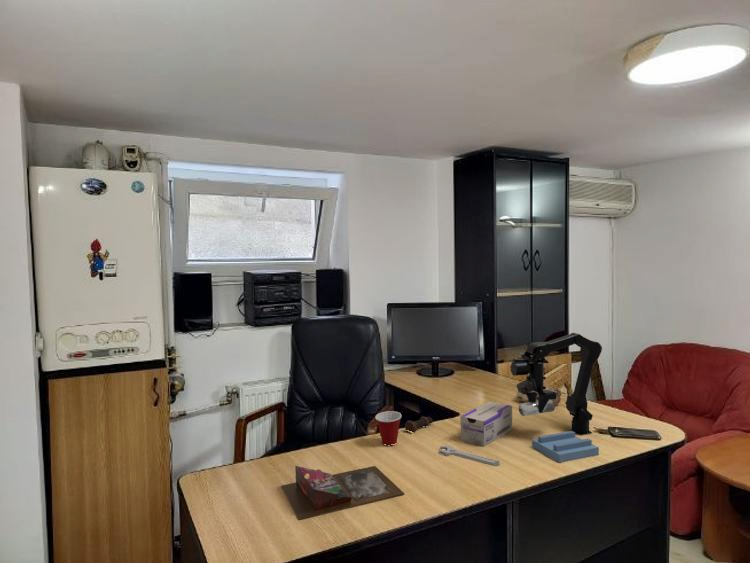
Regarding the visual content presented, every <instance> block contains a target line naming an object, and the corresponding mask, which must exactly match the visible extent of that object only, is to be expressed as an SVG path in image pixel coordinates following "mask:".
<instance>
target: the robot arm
mask: <svg viewBox="0 0 750 563" xmlns="http://www.w3.org/2000/svg"><path fill="white" fill-rule="evenodd" d="M574 345H575V346H577V347H579V348H580V350H579V354H580V358H581V361H580V365H579V369H578V374H577V378H576V382H575V386H574V390H573V393H571V395H570V394H567V395H566V396H567V397H566V400H565V402H564V403H565V408H566V410H567V411H568V413H569V415H570V416H572V418H571V428H569V431H573V432H575V434H577V435H579V436H583V435H588V434H592V433H593V431H591V430H590V421H592V419H593V414H592V413H591V412H590V411H589V410H588V400H587V392H588V389H589V385H590V380H591V376H592V371H593V367H594V364H595V363H596V361H597V360H598V359H599V358H600V356H601V353H602V351H603V346H602V345H601V343H599V342H598V341H595V340H591V339H589V338H587V337H585V336H583V335H582V334H579V333H576V332H571V333H569V334H567V335H564V336H561V337H558V338H555V339H554V338H553V339H552V340H548V341H537V342H530V343H529V344H528V345H527V348H526V350H525V351H524V353H523V355H522V356H521V358H512V361H511V363H510V366H509V367H510V372H511V375H512V376H514V377H517V376H526V378H525V380H523V381H520V382H519V383H517V384H516V389H517V391H518V392H519V393H522V394H525V395H526V396H527V398H528V401H529V402H535V401H536V399H537V400H538V406H539V414H543V413H542V412H543V410H544V408H545V406H546V404H547V402H548V401H549V400H551V399H557V394H556V393H555V392H554V391H551V390H544V391H543V389H546V387H545V386H546V385H545V384H544V380H546V379H547V378H546V376H544V364H549V361H548V360H547V359H546V357H548V356H549V355H550V354H551V353H552V352H554V351H558V350H561V349H564V348H566V347H567V348H568V347H570V346H574ZM544 385H545V386H544ZM537 393H538V396H539V397H537Z"/></svg>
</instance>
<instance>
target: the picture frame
mask: <svg viewBox="0 0 750 563" xmlns="http://www.w3.org/2000/svg"><path fill="white" fill-rule="evenodd" d="M294 468H295V476H294V477H295V482H292V483H287V484H283V485H280V488H281V490H282V491H283V493H284V496H285V497H286V498H287V500H288V503H289V505H290V507H291V508H292V511H293V512H294V514H295V517H296V518H297V520H298V521H303V520H307V519H311V518H315V517H319V516H320V517H321V516H323V515H328V514H332V513H336V512H340V511H345V510H348V509H353V508H356V507H361V506H364V505H368V504H373V503H376V502H381V501H385V500H389V499H394V498H397V497H402V496H404V495H405V493H404V491H402V490H401V488H400V487H398V485H396V484H395V483H394V482H393V481H392V480H391V479H390V478H389V477H387V475H386V474H384V472H382V470H380V468H378V467H377V466H376V465H373V466H368V467H367V466H366V467H363V468H359V469H357V468H356V469H353V470H348V471H343V472H338V473H334V474H332V473H329V472H326V471H325V472H324V471H322V470H321V469H313V468H312V469H311V468H308V467H302V466H298V465H295V466H294ZM307 474H308V478H306V477H305V476H306V475H307Z"/></svg>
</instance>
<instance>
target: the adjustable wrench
mask: <svg viewBox="0 0 750 563" xmlns="http://www.w3.org/2000/svg"><path fill="white" fill-rule="evenodd" d="M442 449H445V450H442ZM440 453H441V455H442V454H443V455H442V456H446V457H448V456H449V455H454V456H455V457H460V458H463V459H468V460H472V461H475V462H479V463H483V464H487V465H490V466H493V467H499V466H501V462H500V460H497V459H493V458H489V457H484V456H480V455H478V454H473V453H469V452H464V451H461V450H458V449H456V448H454V447H453V446H450V445H441V446H440V449H438V454H440Z"/></svg>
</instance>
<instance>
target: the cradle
mask: <svg viewBox="0 0 750 563" xmlns="http://www.w3.org/2000/svg"><path fill="white" fill-rule="evenodd" d="M592 442H593V441H592V439H590V438H584V439H582V438H580V437H578V436H576V433H575V432H573V431H570V430H569V431H564V432H563V431H562V432H556V433H552V434H546V435H540V436H537V438H533V439H531V447H532V448H533V449H535V450H536V451H538V452H540V453H541V454H542V455H543V454H544V456H547V457H549V458H551V459H552V460H554V461H555V462H557V463H559V464H560V462H561V463H565V462H570V461H575V460H581V459H586V457H587V458H591V456H592V457H596V456H599V455H600V451H599V450H600V448H599V446H597V445H595V444H593V443H592Z"/></svg>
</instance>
